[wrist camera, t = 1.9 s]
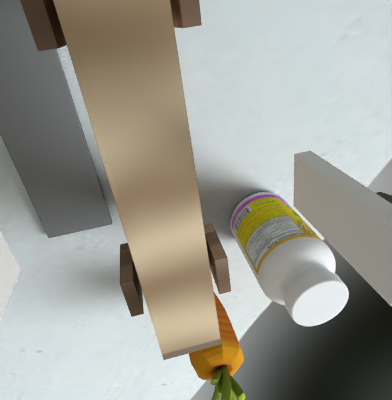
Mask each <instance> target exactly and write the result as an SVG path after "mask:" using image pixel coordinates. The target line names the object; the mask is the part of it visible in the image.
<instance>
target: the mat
mask: <svg viewBox="0 0 392 400" xmlns="http://www.w3.org/2000/svg"><path fill="white" fill-rule="evenodd" d="M0 134H1V136H2V138H3V141H4V143H5V145H6V147H7V149H8V151H9V154H10V156H11V158H12V160H13V162H14V164H15V167H16V169H17V171H18V173H19V175H20V177H21V179H22V182H23V184H24V186H25V188H26V190H27V192H28V195H29V197H30V199H31V201H32V203H33V205H34V208H35V210H36V212H37V214H38V216H39V218H40V221H41V223H42V225H43V227H44V229H45V231H46V233H47V236H48V238H52V237H56V236H61V235H65V234H69V233H74V232H78V231H83V230H87V229H92V228H96V227H101V226H105V225H110V224H112V219H111V216H110V213H109V210H108V207H107V204H106V201H105V198H104V195H103V192H102V189H101V186H100V182H99V179H98V176H97V173H96V170H95V167H94V164H93V161H92V158H91V155H90V152H89V149H88V146H87V142H86V139H85V136H84V133H83V130H82V127H81V124H80V121H79V118H78V115H77V112H76V109H75V106H74V103H73V99H72V96H71V93H70V90H69V87H68V84H67V81H66V78H65V75H64V72H63V69H62V66H61V63H60V59H59V56H58V53H57V50H56V49H51V50H45V51H39V52H38V50H37V47H36V44H35V41H34V39H33V36H32V33H31V30H30V27H29V24H28V22H27V19H26V16H25V13H24V10H23V7H22V4H21V2H20V0H0Z"/></svg>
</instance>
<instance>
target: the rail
mask: <svg viewBox="0 0 392 400" xmlns="http://www.w3.org/2000/svg"><path fill="white" fill-rule="evenodd" d="M53 1H54V5H55V8H56V11H57V14H58V18H59V21H60V24H61V27H62V31H63V34H64V37H65V40H66V44H67V47H68V50H69V53H70V57H71V60H72V63H73V66H74V70H75V73H76V76H77V79H78V83H79V86H80V89H81V92H82V96H83V99H84V102H85V105H86V109H87V112H88V115H89V118H90V122H91V125H92V128H93V131H94V135H95V138H96V141H97V144H98V148H99V151H100V154H101V157H102V161H103V164H104V167H105V170H106V174H107V177H108V180H109V183H110V187H111V190H112V193H113V196H114V200H115V203H116V206H117V209H118V213H119V216H120V219H121V222H122V226H123V229H124V232H125V235H126V239H127V242H128V245H129V248H130V252H131V255H132V258H133V261H134V265H135V268H136V271H137V274H138V278H139V281H140V284H141V287H142V291H143V294H144V297H145V300H146V304H147V307H148V310H149V313H150V317H151V320H152V323H153V326H154V330H155V333H156V336H157V339H158V343H159V346H160V349H161V352H162V356H163V359H164V360H166V359H169V358H173V357H176V356H180V355H184V354H187V353H191V352H195V351H198V350H202V349H206V348H209V347H213V346H217V345H220V344H221V339H220V332H219V325H218V319H217V312H216V305H215V299H214V292H213V285H212V279H211V272H210V265H209V258H208V252H207V245H206V238H205V232H204V225H203V218H202V212H201V205H200V198H199V192H198V185H197V178H196V171H195V165H194V158H193V151H192V145H191V138H190V131H189V125H188V118H187V111H186V105H185V98H184V91H183V85H182V78H181V71H180V64H179V58H178V51H177V44H176V38H175V31H174V24H173V18H172V11H171V4H170V0H53Z"/></svg>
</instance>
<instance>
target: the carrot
mask: <svg viewBox="0 0 392 400" xmlns="http://www.w3.org/2000/svg"><path fill="white" fill-rule="evenodd" d="M213 292H214V291H213ZM214 299H215V305H216V312H217V319H218V325H219V332H220V339H221V344H220V345H217V346H213V347H209V348H206V349H202V350H198V351H195V352H191V353H189V356H190V361H191V364H192V366H193V367H194V369H195V371H196V373H197V375H198V376H199V378H201V379H203V380H211V384H212V385H215V392H214V394H213V397H212V400H219V396H221V400H237V399H238V400H244V399H245V395H244V392H243V391H242V389H241V387H240V386H239V385H238V384H237V382H236V381H235V380H234V379H233V378H232V375H234V373H235V372H236V371H237V369H238V368H239V367H240V365H241V364H242V363H243V361H244V358H243V353H242V350H241V347H240V345H239V342H238V340H237V337H236V335H235V332H234V330H233V327H232V325H231V322H230V320H229V318H228V315H227V313H226V311H225V309H224V307H223V305H222V304H221V302H220V300H219V299H218V297H217V296H216V294H215V293H214ZM235 396H236V397H235ZM236 398H237V399H236Z"/></svg>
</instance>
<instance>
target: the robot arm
mask: <svg viewBox="0 0 392 400" xmlns="http://www.w3.org/2000/svg"><path fill="white" fill-rule="evenodd" d="M294 207H295V208H296V209H297V210H298V211H299V212H300V213H301V214H302V215H303V216H304V217H305V218H306V219H307V220H308V221H309V222H310V223H311V224H312V225H313V226H314V227H315V228H316V229H317V230H318V231H319V232H320V233H321V235H322V236H323V237H324V238H325V239H326V240H327V241H328V242H329V243H330V244H331V245H332V246H333V247H334V248H335V249H336V250H337V251H338V252H339V253H340V254H341V255H342V256H343V257H344V258H345V259H346V260H347V261H348V262H349V263H350V264H351V265H352V266H353V267H354V269H355V270H357V272H358V273H359V274H360V275H361V276H362V277H363V278H364V279H365V280H366V281H367V282H368V283H369V284H370V285H371V286H372V287H373V288H374V289H375V290H376V291H377V292H378V293H379V294H380V295H381V296H382V297H383V298H384V299H385V300H386V301H387V302H388V303H389V304H390V305H391V306H392V196H391V195H388V194H385V193H382V192H378V193H374V192H373V191H371V190H370V189H368V188H367V187H365V186H364V185H362V184H361V183H359V182H357V181H356V180H354V179H353V178H351V177H350V176H348V175H347V174H345V173H344V172H342V171H341V170H339V169H337V168H336V167H334V166H333V165H331V164H330V163H328V162H327V161H325V160H324V159H322V158H321V157H319V156H317V155H316V154H314V153H313V152H311V151H307V152H302V153H298V154H295V155H294ZM20 272H21V268H20V266H19V264H18V263H17V261H16V259H15V257H14V255H13V253H12V252H11V250H10V248H9V246H8V244H7V242H6V240H5V239H4V237H3V235H2V233H1V231H0V320H1V318H2V315H3V313H4V311H5V308H6V306H7V303H8V301H9V298H10V296H11V294H12V291H13V289H14V286H15V284H16V281H17V279H18V276H19V274H20Z"/></svg>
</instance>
